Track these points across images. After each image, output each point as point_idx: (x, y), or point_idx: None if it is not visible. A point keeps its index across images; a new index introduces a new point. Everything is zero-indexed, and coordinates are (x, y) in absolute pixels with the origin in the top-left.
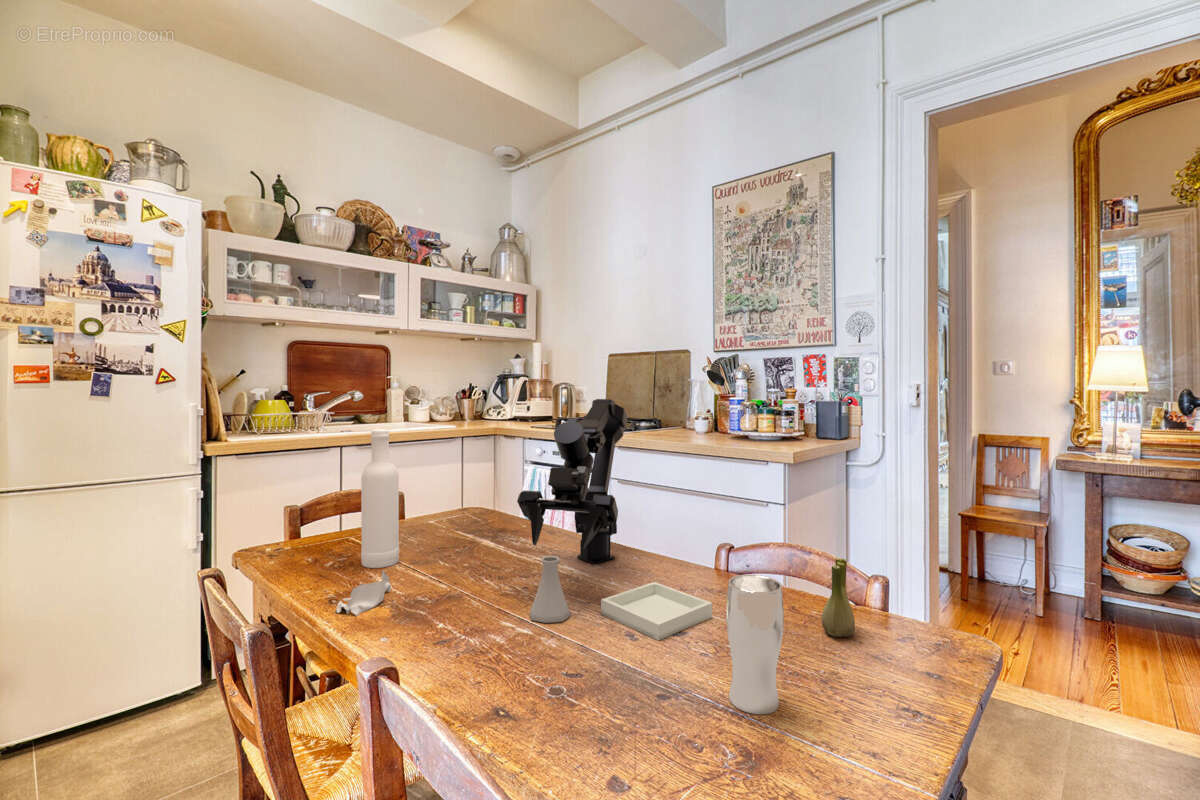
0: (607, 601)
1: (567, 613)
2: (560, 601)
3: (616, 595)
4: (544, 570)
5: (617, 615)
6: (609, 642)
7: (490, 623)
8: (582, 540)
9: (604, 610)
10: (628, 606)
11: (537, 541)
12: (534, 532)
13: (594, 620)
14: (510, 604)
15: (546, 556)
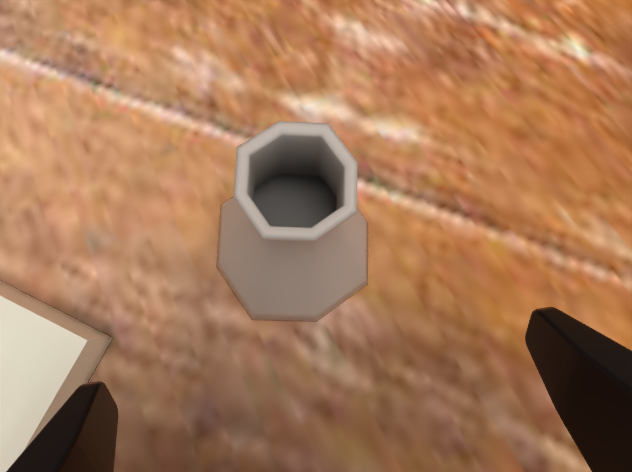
0: (51, 328)
1: (219, 244)
2: (232, 209)
3: (29, 417)
4: (312, 156)
5: (15, 293)
6: (13, 130)
7: (447, 113)
8: (76, 420)
9: (86, 329)
10: (2, 426)
11: (546, 388)
12: (614, 360)
13: (118, 270)
14: (484, 278)
15: (343, 209)
